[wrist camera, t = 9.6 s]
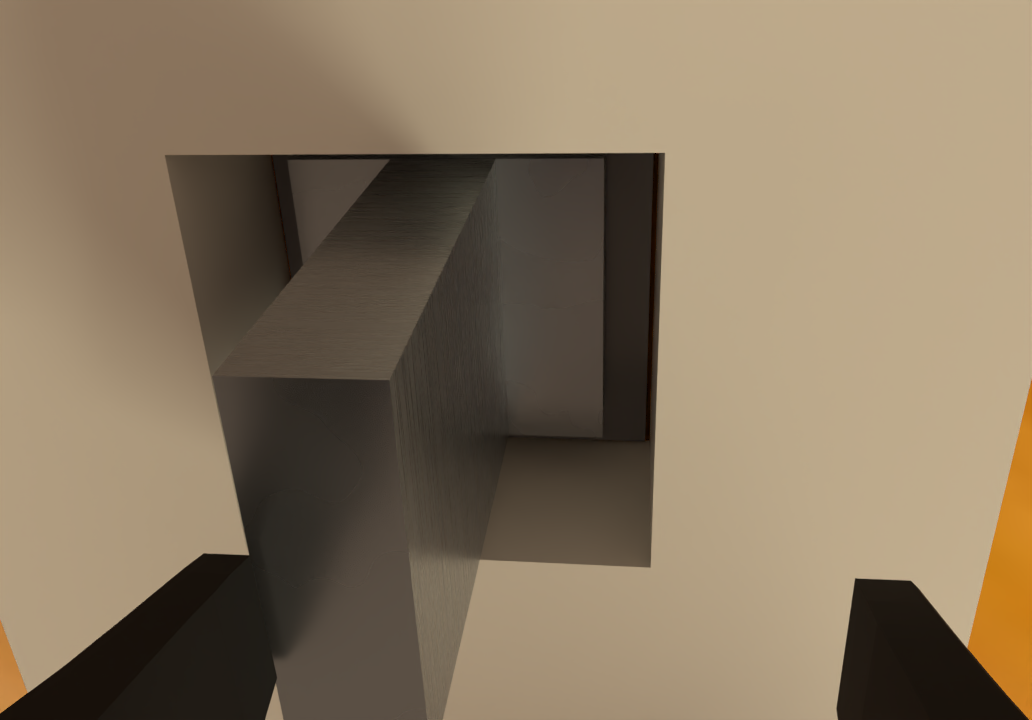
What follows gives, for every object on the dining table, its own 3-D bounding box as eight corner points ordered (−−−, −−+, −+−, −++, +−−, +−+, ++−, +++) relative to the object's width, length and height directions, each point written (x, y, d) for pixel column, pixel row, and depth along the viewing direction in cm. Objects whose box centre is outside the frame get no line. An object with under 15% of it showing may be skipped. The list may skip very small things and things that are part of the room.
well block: (133, 608, 27) (45, 739, 23) (-109, -238, 18) (-329, -264, 14) (882, 649, 24) (929, 804, 20) (1060, -306, 15) (1209, -362, 11)
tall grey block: (346, 395, 22) (154, 744, 14) (311, 139, 20) (42, 371, 11) (605, 401, 22) (579, 775, 13) (607, 137, 19) (574, 384, 10)
